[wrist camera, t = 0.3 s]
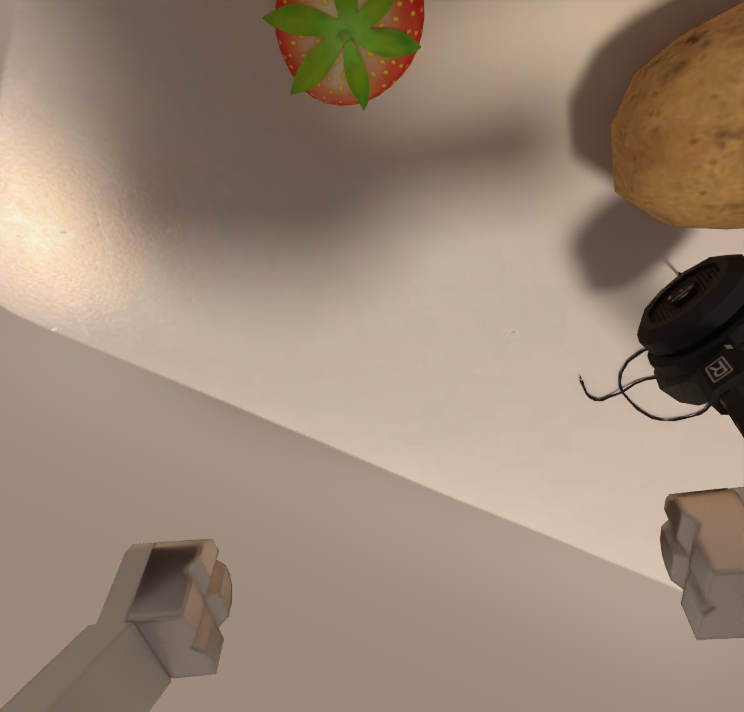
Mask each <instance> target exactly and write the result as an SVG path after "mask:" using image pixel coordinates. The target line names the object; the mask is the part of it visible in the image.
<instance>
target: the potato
mask: <svg viewBox="0 0 744 712" xmlns="http://www.w3.org/2000/svg"><path fill="white" fill-rule="evenodd" d="M610 128H611V143H612V157H613V172H614V187H615V192H616V193H617V194H619V195H620V196H622V197H623V198H625V199H626V200H628V201H629V202H630V203H632V204H633V205H635V206H636V207H638V208H639V209H641V210H642V211H643V212H645V213H646V214H648V215H649V216H651V217H652V218H654V219H655V220H656V221H658V222H660V223H664V224H667V225H671V226H674V227H689V228H710V229H739V228H744V2H742V3H740V4H738V5H736V6H735V7H733V8H731V9H729V10H727V11H725V12H723V13H721V14H720V15H718V16H716V17H714V18H712V19H710V20H708V21H707V22H705V23H703V24H701V25H699V26H697V27H695V28H693V29H692V30H690V31H688V32H686V33H685V34H683V35H682V36H680V37H679V38H677V39H676V40H675V41H673V42H672V43H670V44H669V45H668V46H667V47H666V48H665V49H663V50H662V51H661V52H660V53H659V54H657V55H656V56H655V57H654V58H653V59H651V60H650V61H649V62H648V63H647V64H645V65H644V66H643V67H642V68H641V69H640V70H638V71H637V72H636V73H635V74H634V76H633V78H632V80H631V83H630V85H629V87H628V89H627V91H626V93H625V96H624V98H623V100H622V102H621V104H620V106H619V109H618V111H617V113H616V115H615V117H614V120H613V121H612V123H611V125H610Z"/></svg>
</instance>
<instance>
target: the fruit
mask: <svg viewBox="0 0 744 712" xmlns="http://www.w3.org/2000/svg"><path fill="white" fill-rule="evenodd" d="M263 19H264V20H265V21H267V22H268V23H270V24H271V25H273V26H274V27H275V28H276V36H277V39H278V43H279V47H280V50H281V52H282V55H283V57H284V60H285V62H286V64H287V66H288V68H289V70H290V72H291V74H292V76H293V78H294V82H293V86H292V90H291V93H290V95H292V94H296V93H301V92H306V93H308V94H309V95H310V96H312V97H313V98H315V99H317V100H320V101H322V102H324V103H327V104H333V105H339V106H342V105H355V104H358V103H360V105H361V106H362V108H363V110H365V108H366V106H367V103H368V100H370V99H372V98H374V97H376V96H378V95H380V94H381V93H383V92H384V91H385V90H387V89H388V88H389V87H390V86H391V85H392V84H394V83H395V82H396V81H397V80H398V79H399V78H400V77H401V76H402V75H403V73H404V72H405V71H406V69H407V68H408V67H409V65H410V64H411V62H412V60H413V58H414V56H415V54H416V52H417V50H418V49H420V48H421V46H420V45H419V43H420V39H421V36H422V32H423V23H424V0H277V3H276V10H275V11H273V12H271V13H269V14H268V15H266V16H264V17H263Z"/></svg>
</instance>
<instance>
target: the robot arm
mask: <svg viewBox="0 0 744 712" xmlns="http://www.w3.org/2000/svg"><path fill="white" fill-rule="evenodd" d="M664 510H665V512H666V514H667V517H668V519H669V520H668V521H667V522H666V523H664V524H663V525H662V526H661V536H660V542H661V550H662V556H663V560H664V563H665V566H666V569H667V572H668V574H669V576H670V579H671V581H673V582H674V583H675V584H677V585H678V586H679V587H681V588H682V589H683V596H682V601H681V605H682V607H683V609H684V612H685V614H686V616H687V618H688V621H689V623H690V626H691V628H692V630H693V632H694V635H695V637H696V639H697V640H706V639H728V638H744V487H738V488H730V489H728V488H722V489H713V490H704V491H694V492H685V493H676V494H669V495H668V497H667V498H666V500H665V506H664ZM218 551H219V550H218V548H217V546H216V544H215V542H214V540H213V539H200V540H185V541H170V542H157V543H147V544H133V545H132V546H131V547H130V548H129V549H128V550H127V551H126V552H125V555H124V557H123V560H122V562H121V564H120V567H119V569H118V572H117V575H116V577H115V579H114V582H113V584H112V587H111V589H110V592H109V594H108V596H107V599H106V601H105V604H104V606H103V609H102V611H101V614H100V616H99V619H98V621H97V624H96V625H88V626H87V627H86V628H85V629H84V630H83V631H82V632H81V633H80V634H79V635H78V636H77V637H76V638H75V639H74V640H73V641H71V642H70V644H68V645H67V646H66V647H65V648H64V649H63V650H62V651H61V652H60V653H59V654H58V655H57V656H56V657H55V658H54V659H53V660H52V661H51V662H50V663H49V664H47V665H46V666H45V667H44V668H43V669H42V670H41V671H40V672H39V673H38V674H37V675H36V676H35V677H34V678H33V679H32V680H31V681H30V682H28V683H27V684H26V685H25V686H24V687H23V688H22V689H21V690H20V691H19V692H18V693H17V694H16V695H15V696H14V697H13V698H12V699H11V700H10V701H9V702H7V703H6V704H5V705H4V706H3V707H2V708H1V709H0V712H149V711H150V709H151V708H152V707H153V705H154V704H155V703H156V701H157V700H158V699H159V697H160V696H161V695H162V693H163V692H164V691H165V689H166V688H167V687H168V685H169V684H170V683H171V678H181V677H190V676H200V675H211V674H216V671H217V667H218V663H219V658H220V654H221V649H222V645H223V640H224V638H223V636H222V634H221V632H220V631H219V627H220V626H221V624H222V623H223V622H224V621H225V620H226V618H228V617H229V613H230V608H231V603H232V583H231V578H230V573H229V571H228V569H227V567H226V565H225V564H223V563H221V562H219V561H218V560H217V555H218Z"/></svg>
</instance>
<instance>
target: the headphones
mask: <svg viewBox="0 0 744 712" xmlns="http://www.w3.org/2000/svg"><path fill="white" fill-rule="evenodd" d="M678 274H679V276H677V277H676V278H675V279H674V280H673V281H672V282H670V283H669V284H668V285H667V286H666V287H665V288H663V289H662V290H661V291H660V292H659V293H658V294H657V296H656V297H655V298H654V299H653V300H652V301H651V302H650V304H649V305H648V306H647V307H646V308H645V310H644V313H643V316H642V319H641V322H640V325H639V329H638V334H637V336H638V339H639V342H640V343H641V344H642V345H643V346H644V347H645V348H646V349H644V350H642V351H640V352H638V353H637V354H636V355H634V356H633V357H632V358H630V359H629V360H628V361H627V362H626V364H625V366H624V367H623V369H622V371H621V372H620V374H619V388H620V390H621V392H619V393H616V394H613V395H610V396H607V397H605V398H602V399H600V400H598V399H596V398H593V397H591V396H590V395H589V394H588V393H587V391H586V388H585V386H584V382H583V380H582V378H581V376H580V379H581V381H580V382H581V384H582V386H583V388H584V391H585V393H586V395H587V396H588V397H589V398H590V399H592V400H594V401H604V400H606V399H608V398H610V397H613V396H616V395H619V394H621V393H622V394H623V395H624V396H625V398H626V399H627V400H628V401H629V402H630V403H631V404H632V405H633V406H634V407H635V408H636V409H637V410H638V411H639V412H641V413H643V414H644V415H646V416H648V417H649V418H651V419H655V420H660V421H677V420H682V419H686V418H690V417H694V416H698V415H701V414H702V413H704V412H706V411H707V410H708V409H709V408H710V406H711V405H712V406H713V407H714V408H715V409H716V410H717V411H718V412H719V413H720V414H721V415H729V416H730V417H731V419H732V420H733V422H734V423H735V425H736V426H737V428H738V429H739V431H740V432H741V434H742V436H743V437H744V256H743V255H742V254H738V255H724V256H716V257H709V258H708V259H706V260H704V261H702V262H701V263H699V264H697V265H695V266H693V267H692V268H690V269H688V270H686V271H685V272H683V273H680V272H678ZM647 350H648V351H649V352H648V355H647V356H648V359H649V362H650V364H651V365H652V366H653V367H654V368H655V369H654V374H655V377H650V378H646V379H643V380H640V381H638V382H635V383H633V384H632V385H630V386H629V387H627V388H626V389H624V390H623V389H622V386H621V378H622V373H623V371H624V369H625V368H626V366H627V364H628V363H629V362H630V361H631V360H633V359H634V358H635V357H637V356H638V355H640V354H641V353H643V352H644V351H647ZM652 379H656V380H657V382H658V385H659V388H660V389H661V390H662V391H664V392H665V393H667V394H668V395H670V396H671V397H673V398H674V399H676V400H677V401H679V402H681V403H687V404H693V405H702V404H705V403H708V402H709V405H708V406H707V407H706V409H705V410H703V411H701V412H699V413H697V414H695V415H693V416H688V417H682V418H677V419H669V420H664V419H660V418H656V417H652V416H650V415H648V414H647V413H645V412H644V411H642V410H640V409H639V408H638V407H637V406H636V405H635V404H634V403H632V401H631V400H630V399H629V398H628V397H627V396H626V395H625V393H624V392H625V391H626V390H628V389H629V388H631V387H632V386H634V385H635V384H638V383H640V382H643V381H645V380H652Z"/></svg>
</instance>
